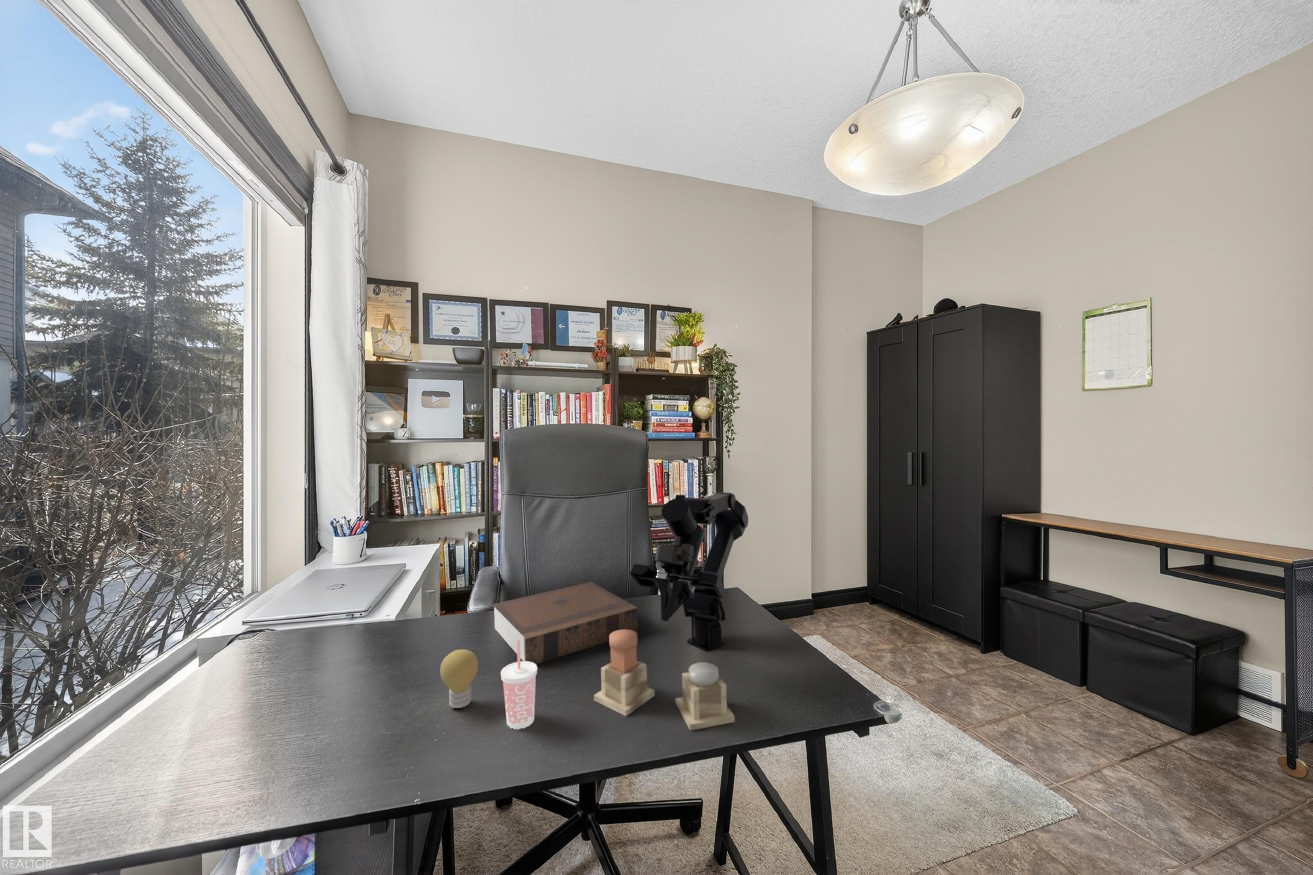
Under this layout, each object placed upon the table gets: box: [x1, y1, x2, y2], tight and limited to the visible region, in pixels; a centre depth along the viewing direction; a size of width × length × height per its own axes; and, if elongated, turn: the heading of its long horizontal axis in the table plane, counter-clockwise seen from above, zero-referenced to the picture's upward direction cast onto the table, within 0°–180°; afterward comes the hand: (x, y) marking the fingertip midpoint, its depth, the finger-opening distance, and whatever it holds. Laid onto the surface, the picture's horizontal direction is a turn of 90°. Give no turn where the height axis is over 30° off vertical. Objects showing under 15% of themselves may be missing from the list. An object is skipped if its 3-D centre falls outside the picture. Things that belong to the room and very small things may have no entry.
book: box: [491, 581, 639, 665], centre depth 120 cm, size 24×28×7 cm
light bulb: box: [439, 649, 479, 709], centre depth 88 cm, size 6×6×10 cm
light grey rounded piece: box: [688, 662, 720, 687], centre depth 85 cm, size 5×5×6 cm
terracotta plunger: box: [608, 630, 638, 674], centre depth 90 cm, size 5×5×6 cm
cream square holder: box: [593, 660, 656, 717], centre depth 90 cm, size 8×8×6 cm
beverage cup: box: [500, 641, 538, 730], centre depth 83 cm, size 6×6×14 cm
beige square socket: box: [675, 671, 736, 731], centre depth 85 cm, size 8×8×6 cm
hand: (663, 620), depth 92 cm, fingers closed
